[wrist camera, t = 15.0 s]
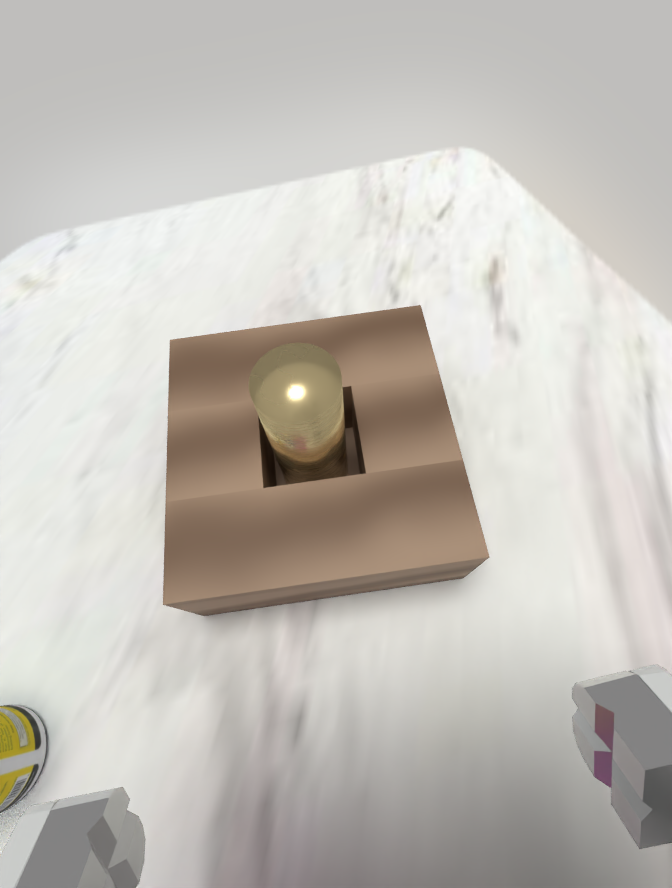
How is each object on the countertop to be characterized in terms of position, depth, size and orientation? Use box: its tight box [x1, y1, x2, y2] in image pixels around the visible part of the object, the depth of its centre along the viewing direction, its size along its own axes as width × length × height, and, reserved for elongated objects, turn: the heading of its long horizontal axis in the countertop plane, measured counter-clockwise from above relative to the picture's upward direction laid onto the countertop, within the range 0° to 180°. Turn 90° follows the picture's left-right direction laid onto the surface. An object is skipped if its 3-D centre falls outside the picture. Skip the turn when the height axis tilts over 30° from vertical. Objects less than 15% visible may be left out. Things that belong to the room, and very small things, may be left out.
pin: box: [249, 343, 348, 485], centre depth 24 cm, size 4×4×10 cm
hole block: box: [163, 305, 489, 616], centre depth 27 cm, size 15×15×6 cm
